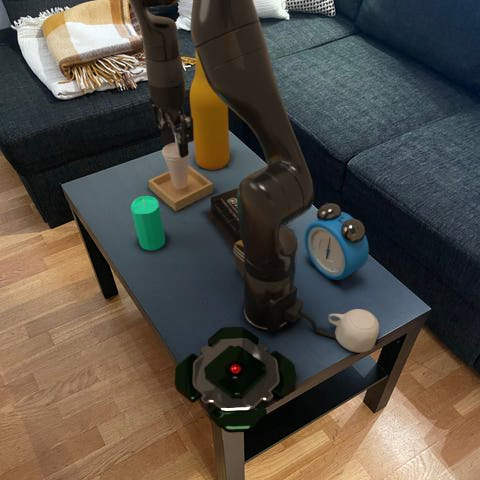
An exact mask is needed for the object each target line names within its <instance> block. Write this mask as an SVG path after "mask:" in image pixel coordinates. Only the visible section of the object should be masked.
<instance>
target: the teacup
mask: <svg viewBox="0 0 480 480" xmlns="http://www.w3.org/2000/svg"><path fill="white" fill-rule="evenodd" d="M332 317H336V318H338V320H333V319H332ZM327 320H328V322H329V323H330V324H331V325H333V326H336V327H335V331H334V334H335V335H336V339H335V340H337V342H338V344H339V345H340V346H342V348H344V349H346V350H348V351H349V352H353V353H359V354H360V353H361V354H362V353H366V352H369V351H371V350H372V349H373V348H374V347H375V345H376V342H377V338H378V336H379V333H380V324H379V320H378V319H377V317H376V316H375V315H374V314H373V313H372V312H370V311H369V310H366V309H362V308H353V309H351V310H349V311H347V312H345V313H330V314H329V315H328V316H327Z"/></svg>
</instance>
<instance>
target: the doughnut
mask: <svg viewBox="0 0 480 480" xmlns="http://www.w3.org/2000/svg"><path fill="white" fill-rule="evenodd" d="M232 252H233V253H232V255H233V259H234V262H235V265H236V268H237V270H238V271H239V273H240V275H241V276H242V278H244V246H243V243H242V240H240V241H238V242H236V243H235V245H234V248H233V249H232Z"/></svg>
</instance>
